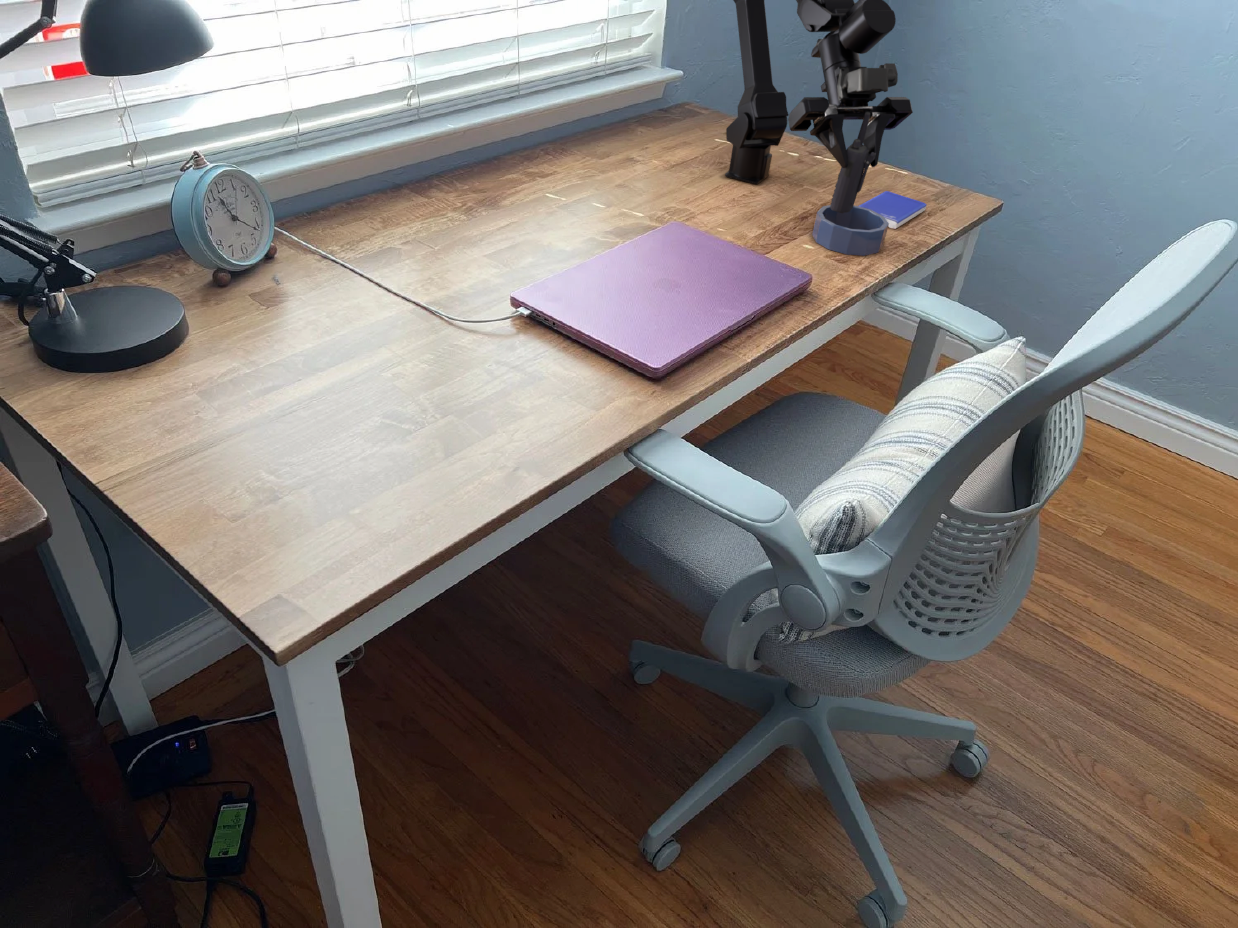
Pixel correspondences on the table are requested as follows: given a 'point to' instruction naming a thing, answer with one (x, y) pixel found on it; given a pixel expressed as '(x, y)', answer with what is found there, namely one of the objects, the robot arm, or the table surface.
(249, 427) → the table surface
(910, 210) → the blue book
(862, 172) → the two-way radio
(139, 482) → the table surface
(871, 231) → the blue faceted hollow ring
